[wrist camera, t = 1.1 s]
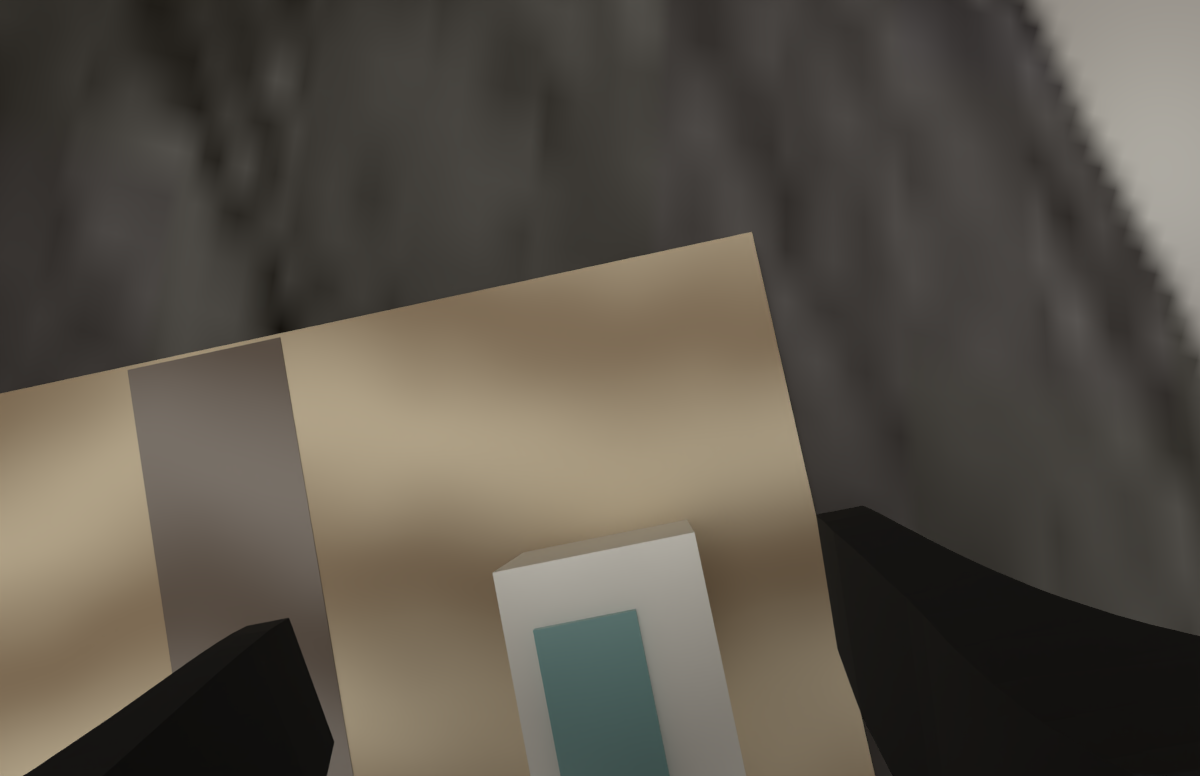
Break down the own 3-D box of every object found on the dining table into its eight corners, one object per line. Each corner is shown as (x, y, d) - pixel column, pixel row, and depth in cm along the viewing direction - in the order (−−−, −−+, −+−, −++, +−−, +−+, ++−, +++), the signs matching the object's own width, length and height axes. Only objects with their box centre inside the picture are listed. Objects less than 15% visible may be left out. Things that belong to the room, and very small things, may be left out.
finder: (740, 775, 20) (763, 858, 16) (572, 807, 20) (550, 897, 16) (686, 519, 21) (695, 533, 16) (523, 552, 21) (490, 573, 17)
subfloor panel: (871, 798, 21) (885, 819, 20) (9, 957, 22) (-29, 987, 21) (746, 244, 22) (751, 232, 21) (-58, 416, 23) (-98, 414, 22)
